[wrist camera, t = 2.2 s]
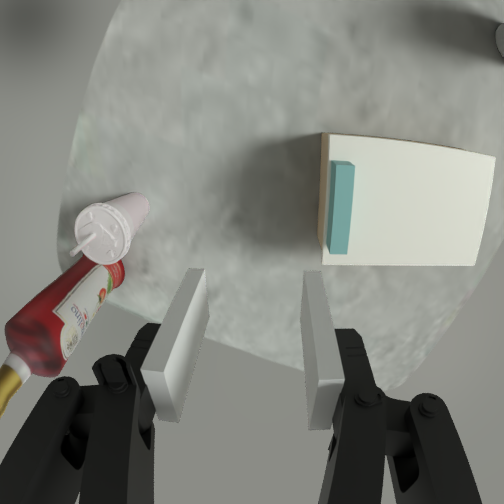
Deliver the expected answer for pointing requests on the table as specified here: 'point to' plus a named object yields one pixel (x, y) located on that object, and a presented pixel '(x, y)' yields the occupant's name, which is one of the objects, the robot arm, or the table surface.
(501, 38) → the coffee cup
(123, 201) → the smoothie
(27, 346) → the liquor
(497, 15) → the table surface
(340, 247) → the lid
